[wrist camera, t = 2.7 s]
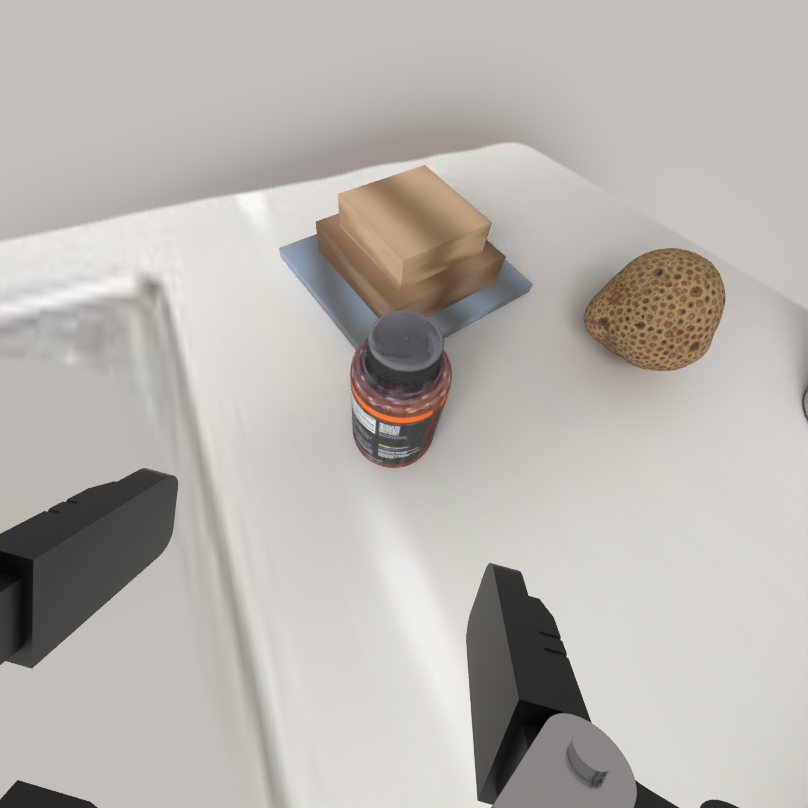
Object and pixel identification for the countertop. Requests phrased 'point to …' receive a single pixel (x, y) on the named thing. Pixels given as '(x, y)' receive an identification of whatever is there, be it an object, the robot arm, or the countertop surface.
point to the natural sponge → (659, 310)
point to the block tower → (404, 257)
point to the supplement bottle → (399, 388)
